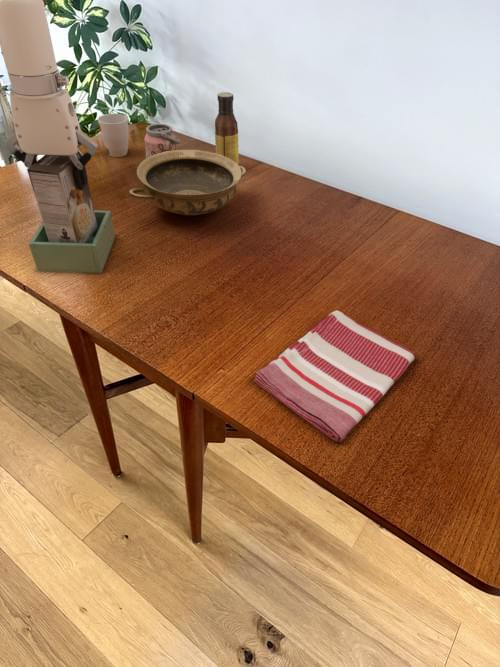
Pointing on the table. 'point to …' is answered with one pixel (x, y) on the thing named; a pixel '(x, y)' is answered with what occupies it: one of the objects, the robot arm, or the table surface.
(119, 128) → the cup
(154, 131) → the pink jar
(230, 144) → the sauce bottle
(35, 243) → the bin
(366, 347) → the dish towel
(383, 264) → the table surface
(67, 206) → the coffee box
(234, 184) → the ceramic bowl
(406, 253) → the table surface
